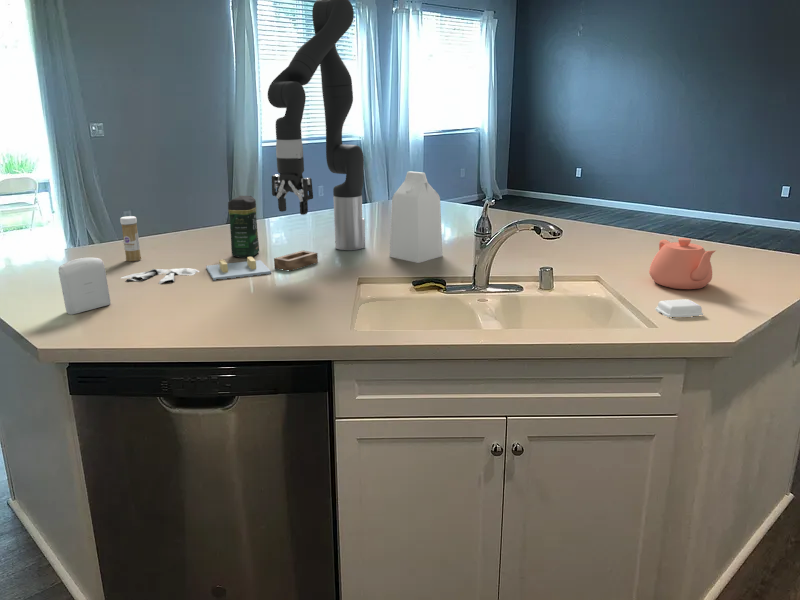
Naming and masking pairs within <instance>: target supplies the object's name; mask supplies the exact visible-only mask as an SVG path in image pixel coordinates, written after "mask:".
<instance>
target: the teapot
mask: <svg viewBox="0 0 800 600" xmlns="http://www.w3.org/2000/svg"><path fill="white" fill-rule="evenodd" d="M715 252H716V250H707V251H706V250H705V248H704V247H703V246H702V245H700V244H696V243H692V239H691V238H687V237H680V238H678V240H677V241H675V242H673V241H672V242H671V241H669V240H667V239H661V240H659V243H658V251H657V252H656V253H655V255H654V257H653V259H652V261H651V263H650V265H649V270H648V271H649V275H650V278H651V279H652V281H654V283H655V284H657V285H660V286H662V287H666V288H671V289H675V290H698V289H702V288H704V287H706V286H707V285H708V284H709V283H710V282H711V281H712V279H713V267H712V263H711V258H712V256H713V254H714V253H715Z"/></svg>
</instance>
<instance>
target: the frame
mask: <svg viewBox="0 0 800 600" xmlns="http://www.w3.org/2000/svg"><path fill="white" fill-rule="evenodd" d="M318 258H319V257H318V252H314V251H308V250H303V249H302V250H298V251H296V252H292V253H289V254H285V255H280V256H277V257H275V258H273V261H274V262H273V264H274V269H276V268H277V270H280V269H283V270H282V271H285V270H289V271H288V272H291V271H290V270H292V271H294V270H293V269H295V270H298V269H297V268H299V269H302V268H305V267H308V265H309V266H311V264H312V265H315V264H318V263H319V259H318ZM314 263H315V264H314ZM304 266H305V267H304ZM301 267H302V268H301Z"/></svg>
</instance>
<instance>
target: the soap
mask: <svg viewBox="0 0 800 600" xmlns="http://www.w3.org/2000/svg"><path fill="white" fill-rule="evenodd" d="M655 311H656V312H657V313H659V314H660V313H661V314H662V316H663V315H664V317H665V316H667V317H691V316H699V315H703V316H704V312H702V311H703V308H702V305H700V304H698V303H696V302H694V301H692V300H691V299H688V298H686V299H685V298H684V299H666V300H660V301H658V304H657V306H656V307H655ZM667 317H666V318H667ZM691 318H692V317H691Z"/></svg>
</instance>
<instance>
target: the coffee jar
mask: <svg viewBox="0 0 800 600" xmlns="http://www.w3.org/2000/svg"><path fill="white" fill-rule="evenodd" d="M227 211H228V217H229V226H230V230H229V231H230V244H231V247H230V248H231V249H230V250H231V256H233V257H237V258H239V259H240V258H243V259H244V258H247V257H254V256H256V255H258V253H259V252H260V244H259V242H260V241H259V233H258V223H257V222H258V221H257V202H256V198H255V197H253V196H251V195H238V197H237V196H236V197H235V198H232V199H231V200H229V201H228V202H227Z"/></svg>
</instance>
